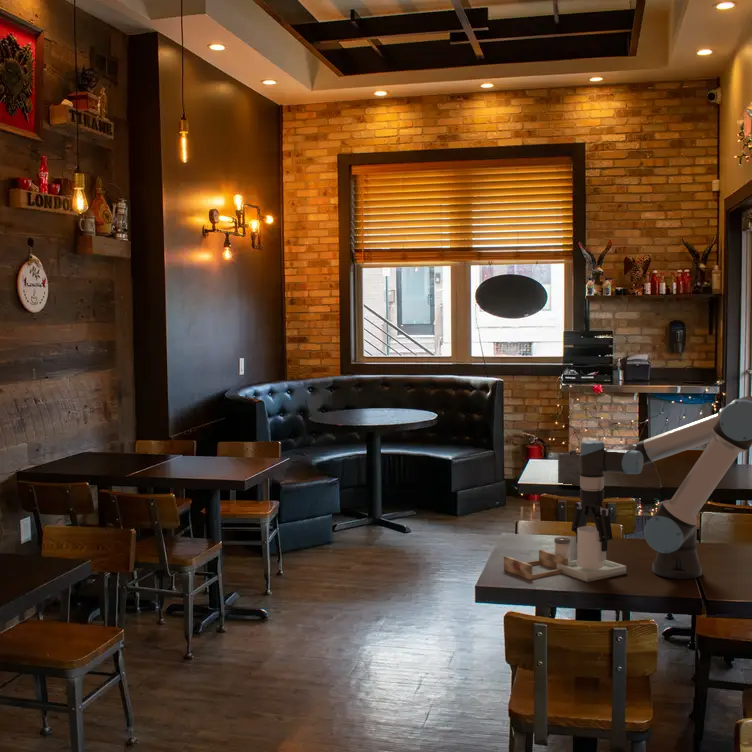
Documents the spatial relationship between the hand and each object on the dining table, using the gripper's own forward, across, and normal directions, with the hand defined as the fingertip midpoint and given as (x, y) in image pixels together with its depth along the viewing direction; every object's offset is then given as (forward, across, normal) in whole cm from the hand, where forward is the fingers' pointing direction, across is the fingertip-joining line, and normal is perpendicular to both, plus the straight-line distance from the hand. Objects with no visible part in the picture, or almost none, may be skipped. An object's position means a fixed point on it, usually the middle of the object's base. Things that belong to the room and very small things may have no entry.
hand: (591, 557), depth 292 cm
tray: (+5, 0, 0) cm, 5 cm away
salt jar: (+5, +11, +2) cm, 12 cm away
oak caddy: (+5, +11, +14) cm, 18 cm away
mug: (+3, +1, 0) cm, 3 cm away
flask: (+5, +114, -98) cm, 150 cm away
